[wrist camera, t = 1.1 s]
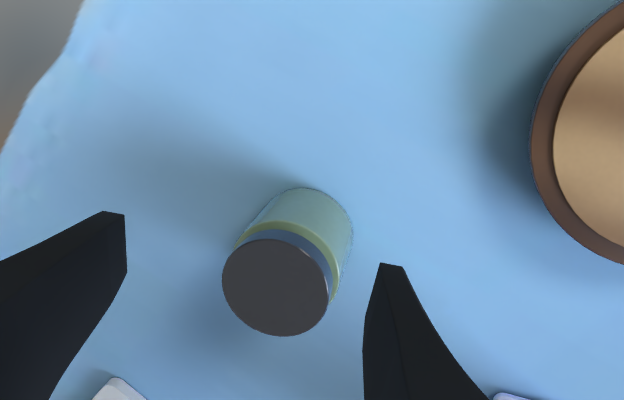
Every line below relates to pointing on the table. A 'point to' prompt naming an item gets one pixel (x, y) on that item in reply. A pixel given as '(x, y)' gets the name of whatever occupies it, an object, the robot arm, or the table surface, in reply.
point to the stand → (584, 137)
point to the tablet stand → (117, 391)
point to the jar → (289, 263)
